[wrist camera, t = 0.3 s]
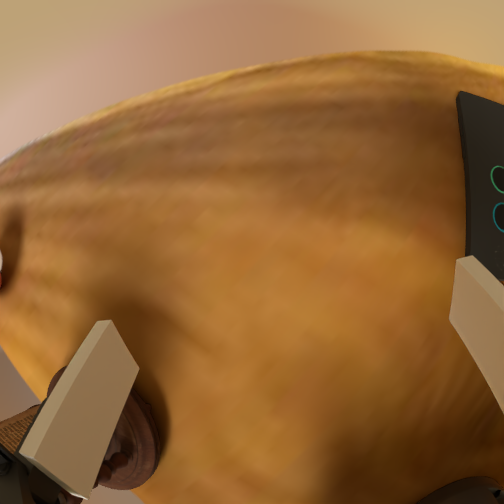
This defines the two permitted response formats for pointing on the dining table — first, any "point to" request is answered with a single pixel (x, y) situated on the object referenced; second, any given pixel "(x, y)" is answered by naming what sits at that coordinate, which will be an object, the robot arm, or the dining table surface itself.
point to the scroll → (119, 449)
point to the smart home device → (483, 179)
